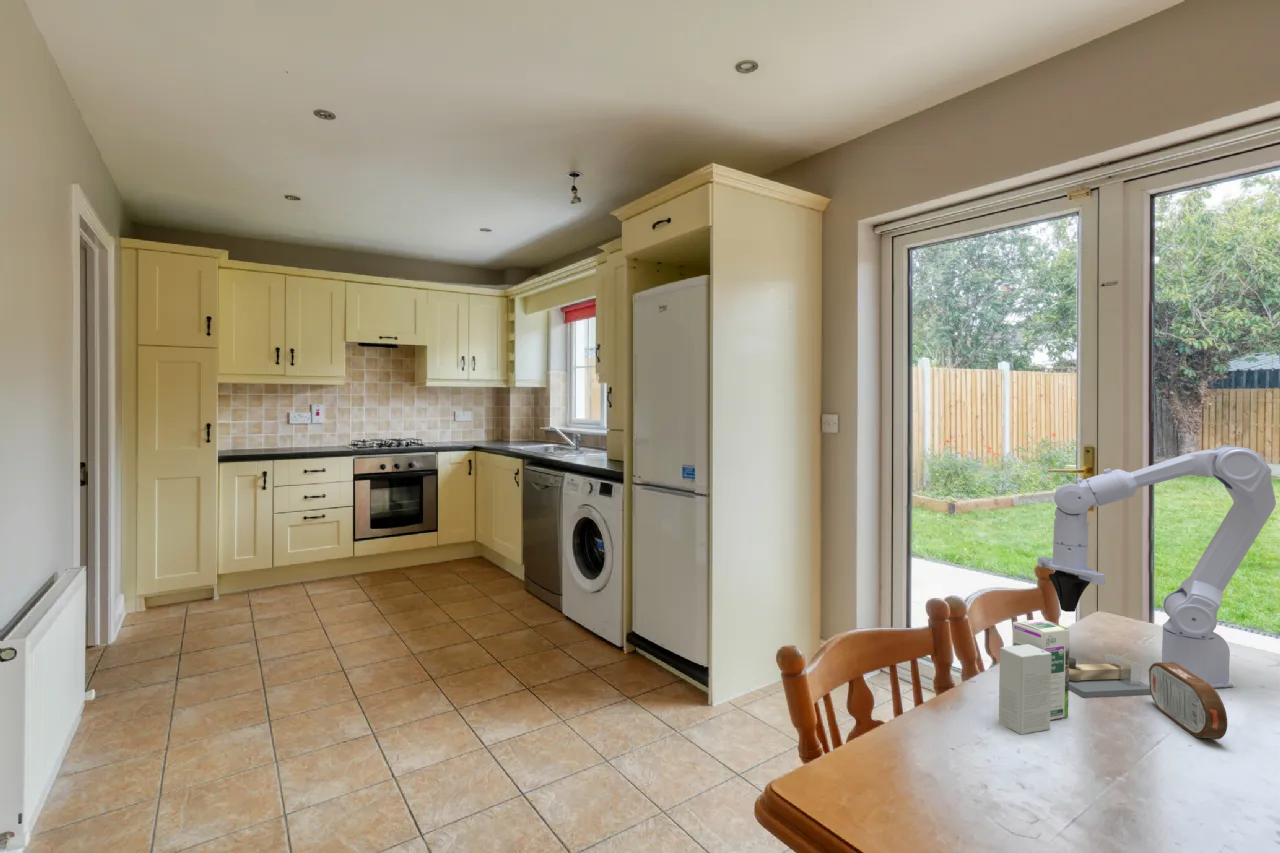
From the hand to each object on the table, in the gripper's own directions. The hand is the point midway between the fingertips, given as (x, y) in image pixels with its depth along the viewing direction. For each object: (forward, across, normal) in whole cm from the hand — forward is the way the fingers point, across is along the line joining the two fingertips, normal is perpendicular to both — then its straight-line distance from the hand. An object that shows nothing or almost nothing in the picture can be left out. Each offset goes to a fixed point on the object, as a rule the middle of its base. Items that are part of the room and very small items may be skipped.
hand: (1068, 610), depth 126 cm
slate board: (+9, +12, -5) cm, 16 cm away
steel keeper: (+8, +13, 0) cm, 15 cm away
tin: (+10, +27, -4) cm, 29 cm away
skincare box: (+10, +25, -30) cm, 40 cm away
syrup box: (+10, +21, -24) cm, 33 cm away
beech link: (+8, +12, -5) cm, 15 cm away
